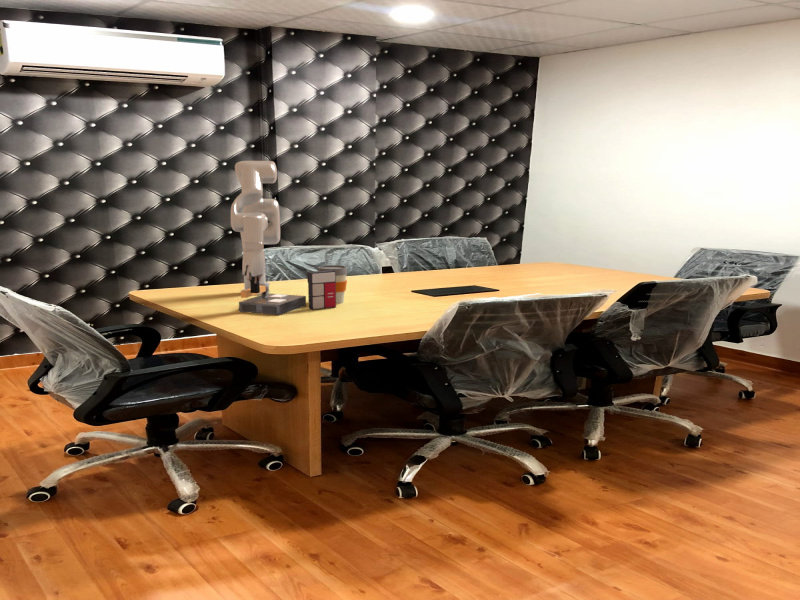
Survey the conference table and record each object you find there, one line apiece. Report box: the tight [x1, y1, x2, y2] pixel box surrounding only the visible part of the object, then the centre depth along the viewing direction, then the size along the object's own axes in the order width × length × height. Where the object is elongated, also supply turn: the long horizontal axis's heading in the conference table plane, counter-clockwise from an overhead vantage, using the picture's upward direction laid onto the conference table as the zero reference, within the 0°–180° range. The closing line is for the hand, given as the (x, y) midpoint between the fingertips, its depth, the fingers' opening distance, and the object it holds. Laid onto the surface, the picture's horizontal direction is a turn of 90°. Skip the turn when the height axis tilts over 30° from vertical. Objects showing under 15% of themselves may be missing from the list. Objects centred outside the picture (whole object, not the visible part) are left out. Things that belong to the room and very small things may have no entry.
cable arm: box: [240, 283, 270, 299], centre depth 296 cm, size 20×4×3 cm, turn 164°
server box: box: [238, 291, 307, 316], centre depth 295 cm, size 22×18×6 cm
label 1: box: [269, 293, 288, 298], centre depth 301 cm, size 6×5×1 cm
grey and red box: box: [306, 270, 337, 311], centre depth 296 cm, size 11×4×15 cm, turn 122°
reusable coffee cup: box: [317, 264, 348, 305], centre depth 310 cm, size 13×13×15 cm
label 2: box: [268, 299, 286, 303], centre depth 290 cm, size 6×5×1 cm
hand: (255, 292), depth 290 cm, fingers closed
